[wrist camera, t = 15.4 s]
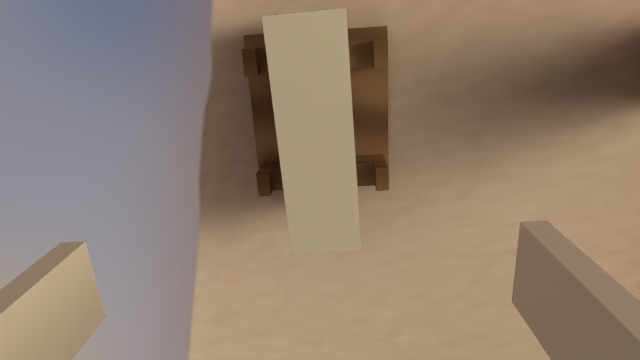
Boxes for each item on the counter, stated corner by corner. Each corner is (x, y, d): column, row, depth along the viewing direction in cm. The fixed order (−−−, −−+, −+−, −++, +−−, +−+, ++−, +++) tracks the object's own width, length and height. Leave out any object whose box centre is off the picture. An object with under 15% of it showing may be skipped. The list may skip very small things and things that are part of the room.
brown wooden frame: (387, 181, 40) (394, 200, 36) (262, 187, 41) (254, 207, 36) (386, 26, 35) (394, 25, 31) (245, 35, 36) (233, 35, 31)
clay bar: (354, 206, 37) (361, 250, 30) (299, 210, 38) (291, 254, 30) (342, 13, 32) (346, 8, 24) (277, 19, 32) (261, 16, 25)
